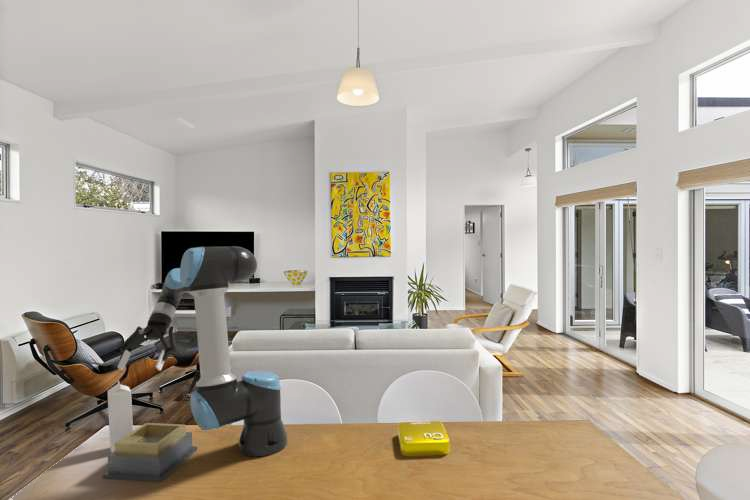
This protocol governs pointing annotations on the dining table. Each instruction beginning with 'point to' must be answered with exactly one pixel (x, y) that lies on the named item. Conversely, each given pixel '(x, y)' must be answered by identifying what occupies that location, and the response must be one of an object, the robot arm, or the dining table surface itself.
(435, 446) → the element tile
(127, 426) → the milk
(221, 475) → the dining table surface
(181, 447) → the grey tan square box
